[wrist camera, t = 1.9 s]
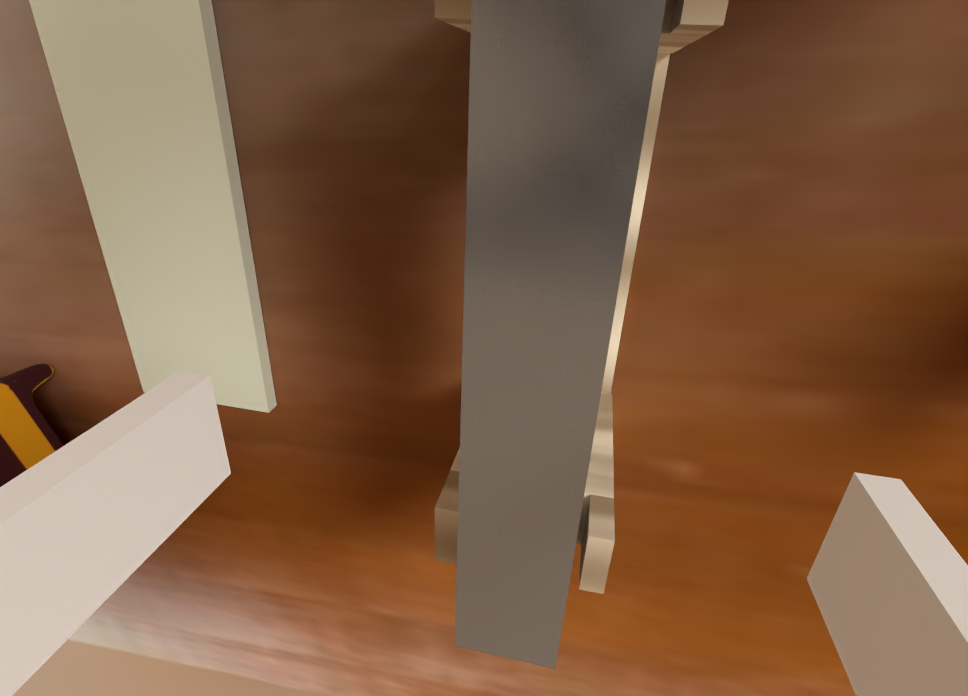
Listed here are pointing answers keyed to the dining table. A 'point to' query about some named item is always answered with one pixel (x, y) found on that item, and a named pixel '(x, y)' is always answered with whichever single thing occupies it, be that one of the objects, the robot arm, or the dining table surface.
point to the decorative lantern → (23, 423)
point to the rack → (687, 18)
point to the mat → (163, 185)
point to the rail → (540, 294)
